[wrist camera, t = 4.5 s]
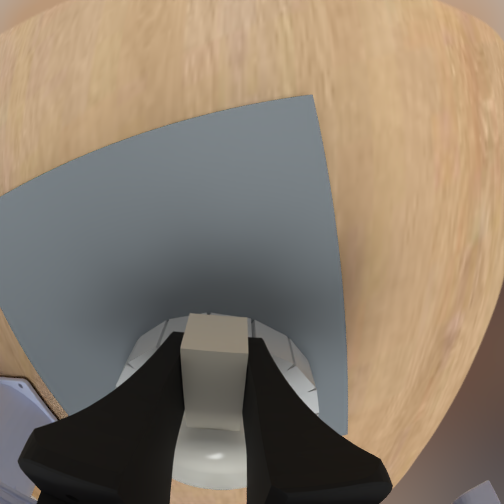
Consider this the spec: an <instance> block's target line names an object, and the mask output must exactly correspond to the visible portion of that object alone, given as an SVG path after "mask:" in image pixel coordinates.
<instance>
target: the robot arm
mask: <svg viewBox="0 0 504 504" xmlns="http://www.w3.org/2000/svg"><path fill="white" fill-rule="evenodd" d="M183 336H184V332H176V331H173V332H172V333H171V334H170V335H169V336H168V338H167V339H166V340H165V341H164V342H163V344H162V345H161V346H160V347H159V348H158V349H157V350H156V352H155V353H154V354H153V355H152V356H151V357H150V358H149V359H148V360H147V361H146V362H145V363H144V364H143V365H142V366H141V367H140V368H139V369H138V370H137V371H136V372H135V373H134V374H133V375H132V376H130V377H129V378H128V379H127V380H126V381H125V382H123V383H122V384H121V385H120V386H119V387H117V388H116V389H115V390H113V391H112V392H110V393H109V394H108V395H106V396H105V397H103V398H102V399H100V400H98V401H97V402H95V403H94V404H92V405H90V406H89V407H87V408H85V409H83V410H81V411H79V412H77V413H75V414H73V415H70V416H68V417H66V418H63V419H61V420H57V419H56V417H55V416H54V415H53V414H52V412H51V411H50V410H49V409H48V407H47V406H46V405H45V403H44V402H43V401H42V400H41V398H40V397H39V396H38V394H37V393H36V391H35V390H34V389H33V387H32V386H31V384H30V383H29V382H28V381H27V380H26V379H22V378H7V377H0V504H170V491H171V480H172V470H173V462H174V454H175V448H176V443H177V438H178V434H179V430H180V426H181V423H182V419H183V415H184V411H185V405H184V394H183V382H182V369H181V353H180V347H181V343H182V340H183ZM242 417H243V426H244V435H245V443H246V455H247V504H379V503H380V502H382V501H383V500H384V499H385V498H386V497H387V496H388V494H389V493H390V492H391V490H392V486H393V485H392V483H391V480H390V477H389V475H388V472H387V470H386V468H385V466H384V465H383V463H382V461H381V459H380V458H378V457H376V456H374V455H372V454H370V453H368V452H367V451H365V450H363V449H361V448H359V447H358V446H356V445H354V444H353V443H351V442H350V441H348V440H347V439H345V438H344V437H342V436H341V435H340V434H338V433H337V432H336V431H335V430H333V429H332V428H331V427H330V426H328V425H327V424H326V423H325V422H324V421H322V420H321V419H320V418H319V417H318V416H317V415H316V414H315V413H314V412H313V411H312V410H311V409H310V408H309V407H308V406H307V405H306V404H305V403H304V402H303V400H302V399H301V398H300V397H299V396H298V395H297V393H296V392H295V391H294V389H293V388H292V387H291V386H290V384H289V383H288V381H287V380H286V379H285V377H284V376H283V374H282V373H281V371H280V370H279V368H278V366H277V365H276V363H275V361H274V360H273V358H272V356H271V354H270V352H269V350H268V348H267V346H266V344H265V342H264V340H263V339H262V338H257V337H248V362H247V372H246V381H245V390H244V399H243V408H242ZM35 485H36V486H37V487H38V488H39V489H40V490H41V493H40V496H39V498H38V501H36V500H34V499H32V498H30V497H31V495H32V492H33V490H34V487H35ZM451 504H501V503H500V501H499V499H498V497H497V495H496V493H495V491H494V489H493V487H492V486H491V483H490V481H489V480H487V481H485V482H483V483H481V484H479V485H478V486H476V487H474V488H472V489H470V490H468V491H466V492H465V493H463V494H462V495H460V496H459V497H458V498H457V499H455V500H454V501H453V502H452V503H451Z"/></svg>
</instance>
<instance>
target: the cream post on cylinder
mask: <svg viewBox="0 0 504 504" xmlns="http://www.w3.org/2000/svg"><path fill="white" fill-rule="evenodd" d="M180 353H181V369H182V382H183V394H184V405H185V411H184V415H183V419H182V423H181V426H180V430H179V434H178V438H177V443H176V448H175V454H174V462H173V470H172V478H173V479H175V480H177V481H179V482H181V483H184V484H187V485H190V486H194V487H199V488H204V489H213V490H230V489H239V488H244V487H247V455H246V443H245V435H244V426H243V417H242V408H243V399H244V390H245V381H246V372H247V362H248V326H247V317H233V316H219V315H206V314H194V313H190V314H189V318H188V321H187V325H186V329H185V332H184V336H183V340H182V343H181V347H180Z"/></svg>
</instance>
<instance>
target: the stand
mask: <svg viewBox="0 0 504 504" xmlns="http://www.w3.org/2000/svg"><path fill="white" fill-rule="evenodd" d="M0 307H1V309H2V311H3V313H4V315H5V317H6V319H7V321H8V323H9V325H10V327H11V329H12V331H13V333H14V335H15V336H16V338H17V340H18V342H19V343H20V345H21V347H22V349H23V350H24V352H25V354H26V355H27V357H28V359H29V360H30V362H31V363H32V365H33V367H34V368H35V370H36V371H37V373H38V374H39V376H40V377H41V379H42V380H43V382H44V383H45V384H46V386H47V387H48V389H49V390H50V392H51V393H52V394H53V396H54V397H55V398H56V400H57V401H58V402H59V404H60V405H61V406H62V408H63V409H64V410H65V411H66V413H67V414H68V415H69V416H70V415H73V414H75V413H77V412H79V411H81V410H83V409H85V408H87V407H89V406H90V405H92V404H94V403H95V402H97V401H98V400H100V399H102V398H103V397H105V396H106V395H108V394H109V393H110V392H112V391H113V390H115V389H116V388H117V387H119V386H120V385H121V384H122V383H123V382H125V381H126V380H127V379H128V378H129V377H130V376H132V375H133V374H134V373H135V372H136V371H137V370H138V369H139V368H140V367H141V366H142V365H143V364H144V363H145V362H146V361H147V360H148V359H149V358H150V357H151V356H152V355H153V354H154V353H155V352H156V350H157V349H158V348H159V347H160V346H161V345H162V344H163V342H164V341H165V340H166V339H167V338H168V336H169V335H170V334H171V333H172V332H173V331H176V332H185V329H186V325H187V321H188V318H189V314H190V313H194V314H206V315H219V316H233V317H247V326H248V337H257V338H262V339H263V340H264V342H265V344H266V346H267V348H268V350H269V352H270V354H271V356H272V358H273V360H274V361H275V363H276V365H277V366H278V368H279V370H280V371H281V373H282V374H283V376H284V377H285V379H286V380H287V381H288V383H289V384H290V386H291V387H292V388H293V389H294V391H295V392H296V393H297V395H298V396H299V397H300V398H301V399H302V400H303V402H304V403H305V404H306V405H307V406H308V407H309V408H310V409H311V410H312V411H313V412H314V413H315V414H316V415H317V416H318V417H319V418H320V419H321V420H322V421H324V422H325V423H326V424H327V425H328V426H330V427H331V428H332V429H333V430H335V431H336V432H337V433H338V434H340V435H341V436H343V435H346V434H347V432H348V374H347V345H346V326H345V310H344V297H343V285H342V274H341V264H340V255H339V246H338V238H337V230H336V222H335V215H334V208H333V201H332V194H331V188H330V182H329V176H328V170H327V164H326V158H325V153H324V147H323V142H322V137H321V132H320V127H319V122H318V117H317V113H316V108H315V104H314V99H313V95H305V96H298V97H291V98H285V99H279V100H273V101H267V102H262V103H256V104H251V105H246V106H241V107H237V108H232V109H228V110H223V111H219V112H215V113H211V114H207V115H203V116H199V117H195V118H191V119H188V120H184V121H181V122H177V123H174V124H170V125H167V126H164V127H160V128H157V129H154V130H151V131H148V132H145V133H142V134H139V135H136V136H133V137H130V138H127V139H125V140H122V141H119V142H116V143H114V144H111V145H109V146H106V147H103V148H101V149H98V150H96V151H93V152H91V153H88V154H86V155H84V156H81V157H79V158H77V159H74V160H72V161H70V162H68V163H65V164H63V165H61V166H59V167H57V168H55V169H52V170H50V171H48V172H46V173H44V174H42V175H40V176H38V177H36V178H34V179H32V180H30V181H28V182H26V183H24V184H23V185H21V186H19V187H17V188H15V189H13V190H12V191H10V192H8V193H6V194H4V195H3V196H1V197H0Z"/></svg>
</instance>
